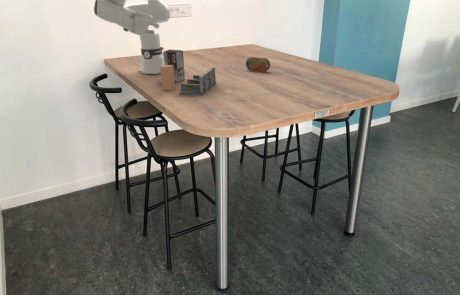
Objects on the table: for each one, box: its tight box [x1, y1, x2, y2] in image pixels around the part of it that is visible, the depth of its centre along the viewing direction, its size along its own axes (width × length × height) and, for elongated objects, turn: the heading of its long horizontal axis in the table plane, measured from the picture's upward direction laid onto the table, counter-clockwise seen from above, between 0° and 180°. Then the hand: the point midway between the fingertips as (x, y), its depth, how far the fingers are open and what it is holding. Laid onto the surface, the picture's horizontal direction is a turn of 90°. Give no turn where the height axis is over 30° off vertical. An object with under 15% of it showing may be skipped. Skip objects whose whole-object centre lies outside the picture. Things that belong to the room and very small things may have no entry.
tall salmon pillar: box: [160, 65, 176, 91], centre depth 190 cm, size 4×5×12 cm
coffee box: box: [162, 49, 186, 82], centre depth 205 cm, size 9×6×16 cm
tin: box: [245, 56, 271, 73], centre depth 223 cm, size 15×3×8 cm, turn 62°
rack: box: [179, 66, 217, 96], centre depth 190 cm, size 21×12×9 cm, turn 164°
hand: (156, 30), depth 185 cm, fingers open, 8 cm apart
